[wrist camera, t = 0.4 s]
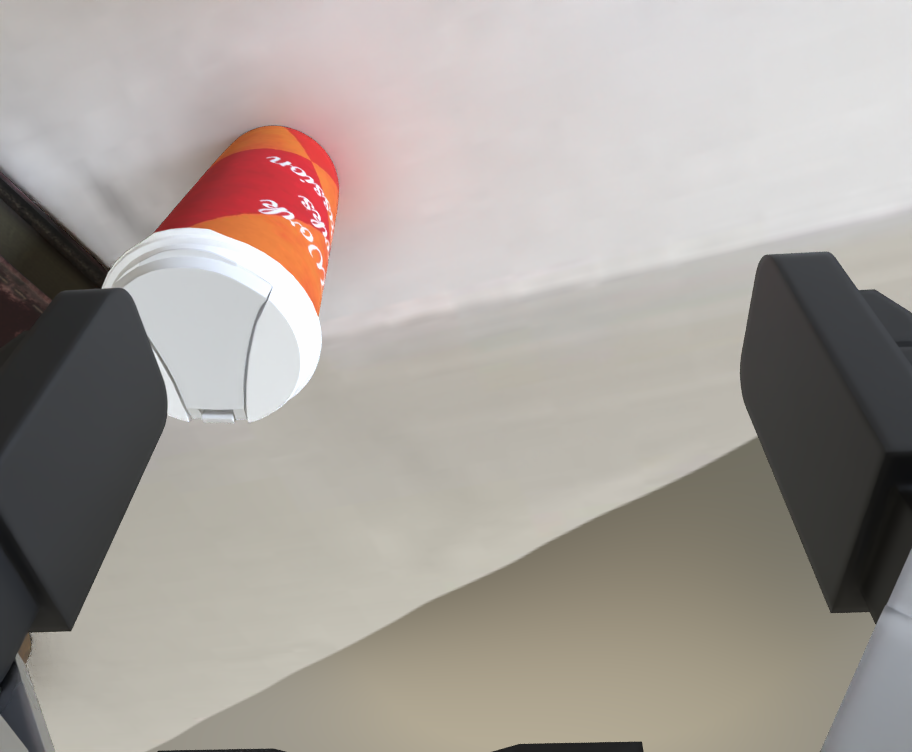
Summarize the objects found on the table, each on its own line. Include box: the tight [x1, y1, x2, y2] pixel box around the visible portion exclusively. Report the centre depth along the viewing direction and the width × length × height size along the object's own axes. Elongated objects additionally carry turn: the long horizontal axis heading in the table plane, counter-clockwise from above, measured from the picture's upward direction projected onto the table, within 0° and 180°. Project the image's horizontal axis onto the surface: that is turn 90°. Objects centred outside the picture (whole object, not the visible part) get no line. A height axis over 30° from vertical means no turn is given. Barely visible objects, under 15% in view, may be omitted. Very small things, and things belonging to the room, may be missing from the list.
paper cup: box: [102, 126, 339, 423], centre depth 33 cm, size 8×8×14 cm
